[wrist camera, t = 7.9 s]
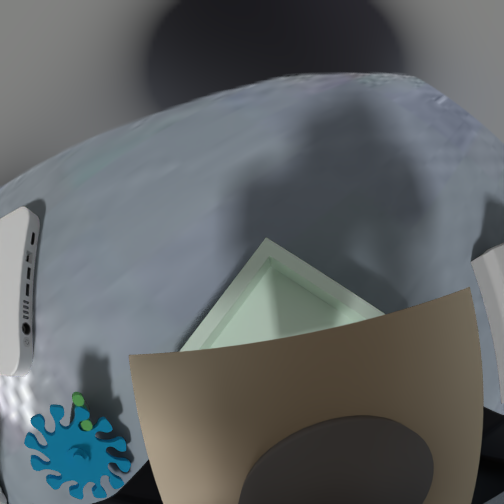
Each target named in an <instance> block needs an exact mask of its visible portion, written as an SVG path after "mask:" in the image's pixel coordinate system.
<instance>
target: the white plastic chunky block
mask: <svg viewBox="0 0 504 504" xmlns="http://www.w3.org/2000/svg"><path fill="white" fill-rule="evenodd" d="M0 504H7V500H6V497H5V495H4V493H3V491H2V490H1V486H0Z"/></svg>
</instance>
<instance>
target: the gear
mask: <svg viewBox="0 0 504 504" xmlns="http://www.w3.org/2000/svg"><path fill="white" fill-rule="evenodd" d="M72 399H73V403H72V409H71V417H70V425H69V426H63V425H61V424H60V420H61V419H62V417H63V416H64V408H63V406H61V405H51V406H50V413H51V415H52V416H53V418H54V421H55V431H54V432H53V433H50V432H48V431H46V429H45V427H44V425H45V420H44V417H43V416H42V415H41V414H37V415H35V416H33V417H32V418H31V424H32V425H33V426H34V427H35V428H36V429H38V430H39V431H40V432H41V433H42V435H43V436H44V437H45V439H46V441H47V445H46V446H43V445H41V444H39V442H38V441H37V438H36V437H35V435H34V434H32V433H30V432H28V433H27V435H26V438H25V442H24V444H25V445H26V446H27V447H28V448H32V449H36V450H38V451H40V452H42V453H43V454H44V455H46V456H47V457H48V458H49V459H50V461H49V462H45V461H43V460H42V459H41V458H39V457H38V456H36V455H31V465H32V467H33V469H34V470H36V471H40V470H43V469H51V470H55V471H58V472H60V473H61V475H60V476H55V475H51V474H50V475H47V476H46V481H47V483H48V484H49V485H50V486H51V487H52V488H53V489H55V490H56V489H59V488H60V486H61V484H62V483H64V482H66V481H71V480H74V481H76V482H78V484H77V485H72V486H70V487H69V492H70V495H71V496H73V497H75V498H78V499H82V498H83V487H84V486H85V485H86V484H87V483H88V482H94V483H95V485H94V486H93V487H92V492H93V495H94V497H96V498H105V497H107V494H106V492H105V490H104V488H103V487H102V486H101V485H100V478H101V476H103V475H107V476H109V482H110V484H111V486H112V487H113V488H114V489H118V488H120V487H122V486H123V485H124V482H123V481H122V479H121V478H120V477H119V476H117V475H115V474H113V473H112V472H111V471H110V470H109V469H108V464H109V463H111V462H114V463H116V464H117V465H118V467H119V469H120V470H121V471H123V472H128V471H129V469H130V466H131V463H130V461H129V460H128V459H126V458H119V457H114V456H112V455H110V454H109V453H108V452H106V448H107V447H110V446H111V447H114V448H115V449H117V450H118V451H121V452H123V451H126V442H125V440H124V438H123V437H120V436H117V437H115V438H113V439H109V440H104V439H99V438H97V437H95V434H96V432H98V431H102V432H106V433H108V432H111V431H112V430H113V428H112V426H111V425H110V423H109V422H108V420H107V419H106V418H105V417H101V418H99V419H98V421H97V423H96V424H95V425H94V426H92V423H91V421H90V419H89V416H90V413H89V411H90V410H89V406H88V404H87V403H86V402H85V401H84V399H83V396H82V394H81V393H79V392H74V393H73V394H72Z"/></svg>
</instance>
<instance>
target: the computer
mask: <svg viewBox="0 0 504 504" xmlns="http://www.w3.org/2000/svg"><path fill="white" fill-rule="evenodd" d="M39 229H40V221H39V218H38V216H37V215H36V214H34V213H33V212H32V211H30V210H29V209H28V208H26V207H20V208H18V209H16V210H14V211H13V212H11V213H9V214H7V215H6V216H4V217H2V218H1V219H0V375H4V376H11V377H25V376H26V375H27V374H28V373H29V371H30V369H31V366H32V362H33V334H32V299H33V280H34V268H35V258H36V250H37V242H38V236H39Z"/></svg>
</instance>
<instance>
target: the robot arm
mask: <svg viewBox="0 0 504 504" xmlns="http://www.w3.org/2000/svg"><path fill="white" fill-rule="evenodd" d="M93 504H163V501H162V499H161V496H160V493H159V490H158V487H157V484H156V481H155V478H154V474H153V471H152V468H151V464H150V461H149V460H148V461H147V462H146V463H145V464H144V465H143V466H142V468H141V469H140V470H139V471H138V472H137V473H136V474H135V475H134V476H133V477H132V478H131V479H130V480H129V481H128V482H127V483H126V484H125V485H124V486H123V487H122V488H121V489H120V490H119V491H118V492H117V493H116V494H114V495H113V496H111V497H109V498H107V499H105V500H102V501H99V502H96V503H93ZM471 504H504V415H502V414H499V413H496V412H494V411H492V410H490V409H488V408H486V407H484V406H483V429H482V442H481V452H480V460H479V467H478V473H477V479H476V484H475V489H474V493H473V498H472V502H471Z"/></svg>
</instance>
